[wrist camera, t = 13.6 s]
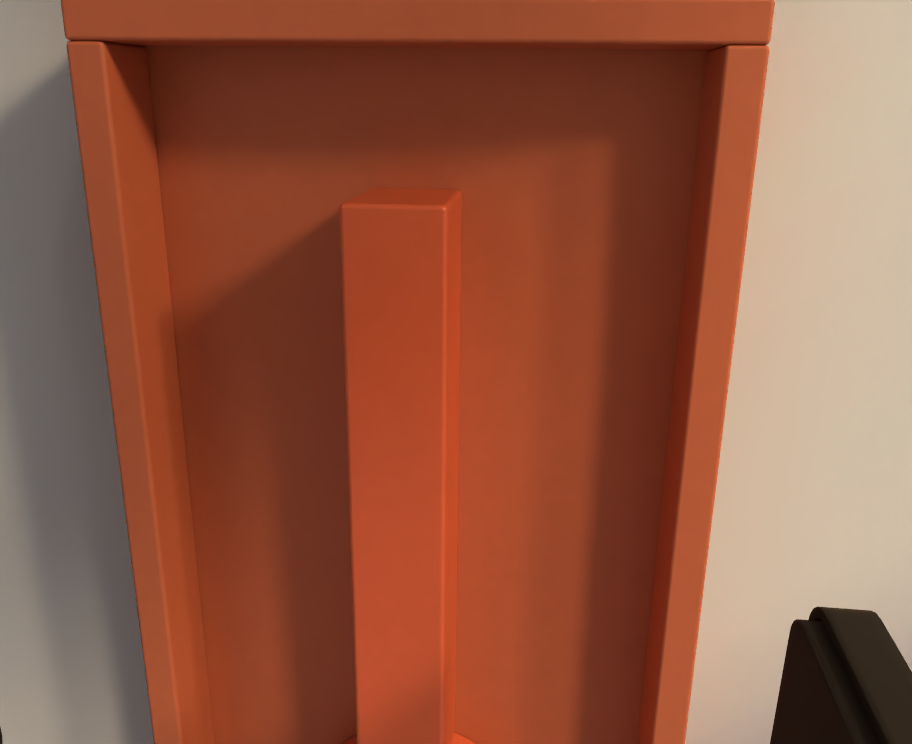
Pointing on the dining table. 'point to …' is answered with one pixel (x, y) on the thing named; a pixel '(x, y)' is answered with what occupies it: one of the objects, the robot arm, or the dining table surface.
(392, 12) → the terracotta tray
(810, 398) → the dining table surface
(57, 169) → the dining table surface
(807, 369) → the dining table surface
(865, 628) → the robot arm
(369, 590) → the terracotta spoon
